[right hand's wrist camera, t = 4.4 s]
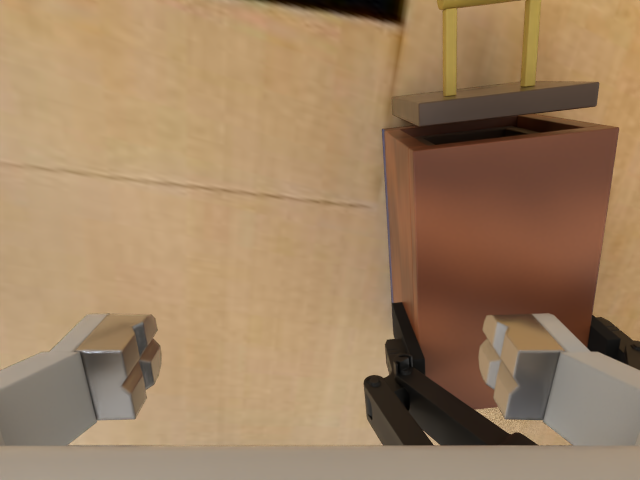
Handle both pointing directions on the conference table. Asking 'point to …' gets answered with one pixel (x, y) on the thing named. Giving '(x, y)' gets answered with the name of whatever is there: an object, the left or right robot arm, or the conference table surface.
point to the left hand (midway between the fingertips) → (473, 310)
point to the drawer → (490, 87)
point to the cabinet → (494, 233)
